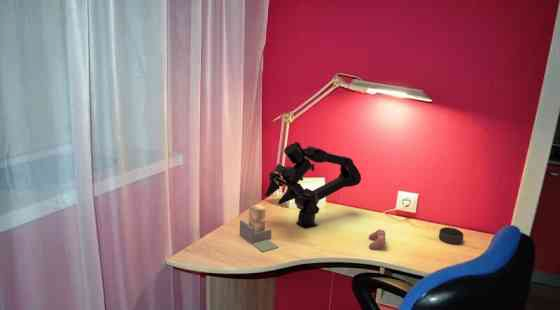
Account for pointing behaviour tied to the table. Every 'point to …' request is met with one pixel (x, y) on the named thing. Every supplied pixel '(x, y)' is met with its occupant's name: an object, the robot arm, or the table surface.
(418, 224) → the table surface
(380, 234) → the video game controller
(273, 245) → the mat
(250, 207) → the birch block
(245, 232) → the tray
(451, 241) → the smart speaker
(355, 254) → the table surface
